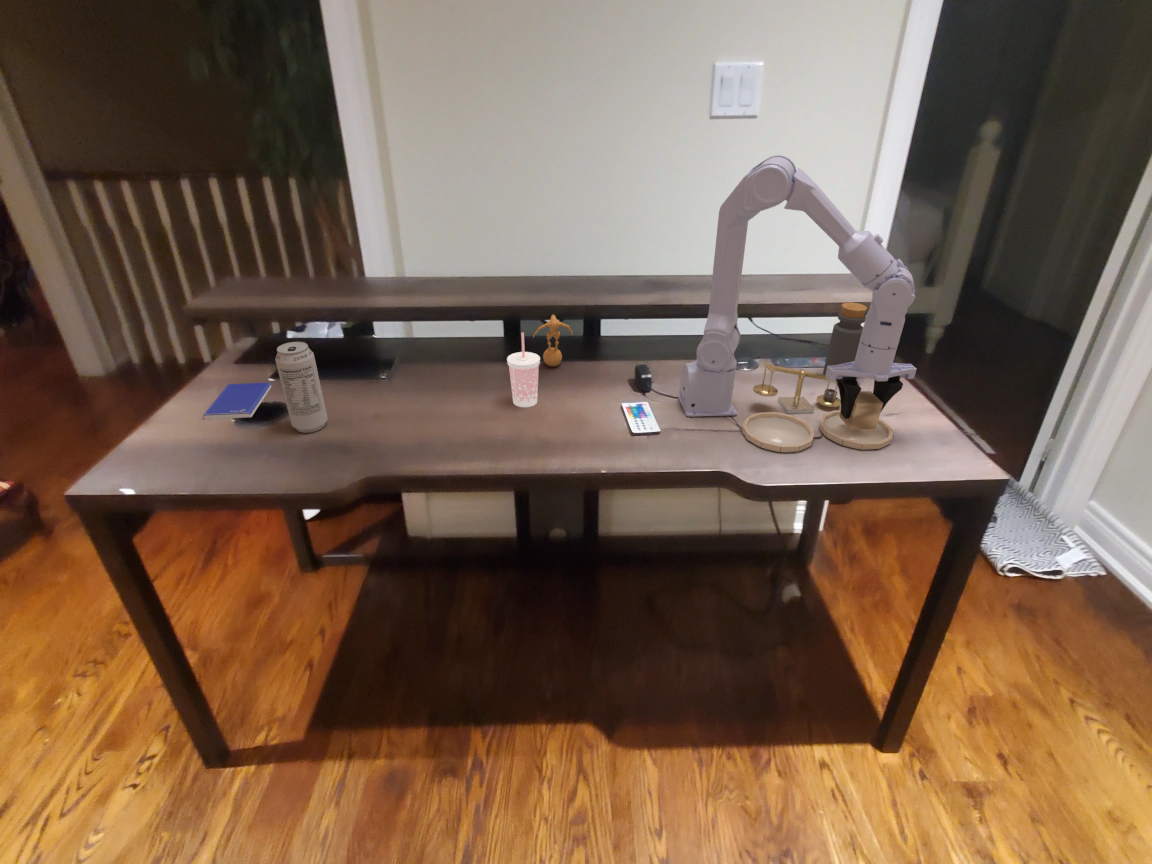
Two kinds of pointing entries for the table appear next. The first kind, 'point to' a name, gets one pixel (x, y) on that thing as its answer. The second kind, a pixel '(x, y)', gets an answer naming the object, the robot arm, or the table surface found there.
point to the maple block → (864, 412)
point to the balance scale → (797, 391)
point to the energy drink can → (301, 386)
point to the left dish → (778, 432)
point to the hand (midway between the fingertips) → (859, 415)
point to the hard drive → (238, 401)
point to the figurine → (553, 354)
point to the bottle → (846, 335)
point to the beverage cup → (524, 376)
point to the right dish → (855, 433)
